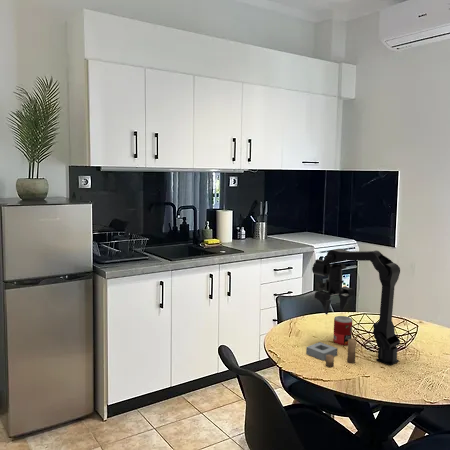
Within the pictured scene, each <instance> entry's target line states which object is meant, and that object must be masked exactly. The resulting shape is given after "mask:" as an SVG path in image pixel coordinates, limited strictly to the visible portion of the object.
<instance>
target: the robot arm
mask: <svg viewBox="0 0 450 450" xmlns="http://www.w3.org/2000/svg"><path fill="white" fill-rule="evenodd" d="M326 253H327V254H326V256H325V257H324V259H323V260H322V259H320V258H319V259H315V260H314V263H313V265H312V268H311V272H312V273H313V274H314V275H318V276H322V277H327V276H328V277H327V278H326V279H325V282H322V281H316V283H315V288H316V290H318V291H315V292H314V299H316V300H318V301H320V303H321V306H322V308H323V312H324V315H328V314H329V310H330V306H331V297H334V296H338V297H339V311H340V312H343V311H344V309H345V308H346V306H347V304H348V303H349V301H350V299H351V298H353V296H354V295H355V290H354V288H351V287H347V286H343V285H342V284H344V280H343V270H345V269H348V268H347V266H346V265H345V264H344V262H346V261H348V262H349V261H353V262H355V261H356V262H357V261H359V262H360V261H365V262H366V261H368V262H369V261H370V262H371V263H372V264H371V265H373V268H374V269H375V270H376V271H377V272H378V278H379V279H378V280H379V281H380V284H381V292H380V293H381V296H380V309H379V319H378V321H377V322H375V323H373V329H372V330H373V331H372V334H373V338H374V339H375V340H376V341H375V342H376V346H377V358H376V362H380V363H383V364H386V365H388V366H393V365H394V364H397V363H398V362H399V361H400V360H399V359H398V346H399V345H400V343H401V340H400V338H399V337H398V336H397V335H396V332H395V325H394V323H393V320H392V319H393V309H394V297H395V286H396V284H397V283H398V280H399V279H400V278H399V277H400V275H401V268H400V266H399V265H398V264H397V263H395V262H393V260H392V259H390V258H388V257H387V256H385V255H384V254H383V253H382V252H380V251H379V250H362V251H361V250H359V251H358V250H355V251H354V250H353V251H352V250H351V251H350V250H347V249H344V248H343V249H342V248H335V249H331V250H328V252H326Z"/></svg>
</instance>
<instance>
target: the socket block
mask: <svg viewBox="0 0 450 450" xmlns="http://www.w3.org/2000/svg"><path fill="white" fill-rule="evenodd" d="M305 349H306V350H305V354H306V355H308V356H310V357H313V358H316V359H318V360H321V361H324V362H325V361H326V355H333V356H334V357H336V356H338V347H335V346H333V345H329V344H326V343H324V342H321V341H319V342H316V343H313V344H311V345H308V346H306V348H305Z"/></svg>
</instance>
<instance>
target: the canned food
mask: <svg viewBox="0 0 450 450" xmlns="http://www.w3.org/2000/svg"><path fill="white" fill-rule="evenodd" d="M333 319H334V320H333V335H332V336H333V338H332V339H333V342H334V343H335V344H336V345H339V346H348V339H353V319H352V318H351V317H349V316H345V315H336V316H334V318H333Z"/></svg>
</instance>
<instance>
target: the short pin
mask: <svg viewBox="0 0 450 450" xmlns="http://www.w3.org/2000/svg"><path fill="white" fill-rule="evenodd" d="M334 362H335V356H333V355H326V360H325V367H326V368H334Z"/></svg>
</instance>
